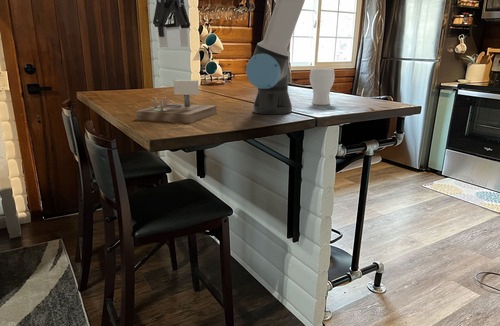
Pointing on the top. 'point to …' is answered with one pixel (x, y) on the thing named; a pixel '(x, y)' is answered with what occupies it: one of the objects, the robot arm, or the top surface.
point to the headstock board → (176, 113)
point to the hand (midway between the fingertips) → (174, 46)
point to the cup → (321, 84)
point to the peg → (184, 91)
